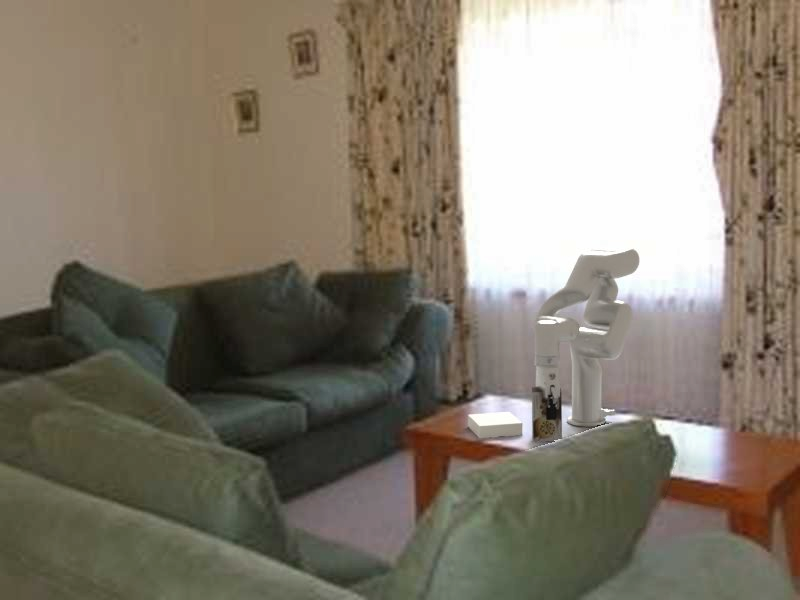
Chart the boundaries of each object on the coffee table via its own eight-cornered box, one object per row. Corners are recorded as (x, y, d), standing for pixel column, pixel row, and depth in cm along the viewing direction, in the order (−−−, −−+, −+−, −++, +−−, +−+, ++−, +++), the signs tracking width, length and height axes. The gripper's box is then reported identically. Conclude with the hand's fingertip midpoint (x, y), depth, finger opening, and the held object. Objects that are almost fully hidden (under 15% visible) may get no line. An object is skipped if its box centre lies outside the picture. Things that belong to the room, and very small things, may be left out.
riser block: (509, 423, 319) (509, 411, 318) (522, 435, 305) (522, 422, 305) (468, 426, 316) (468, 414, 316) (479, 438, 303) (479, 426, 302)
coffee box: (560, 436, 303) (561, 386, 301) (562, 442, 297) (562, 391, 295) (531, 436, 304) (531, 386, 302) (532, 442, 298) (532, 391, 296)
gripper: (568, 365, 289) (568, 422, 292) (548, 354, 306) (548, 408, 309) (544, 367, 288) (544, 424, 290) (526, 355, 305) (526, 409, 307)
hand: (546, 415), depth 300 cm, fingers closed on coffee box, 7 cm apart
